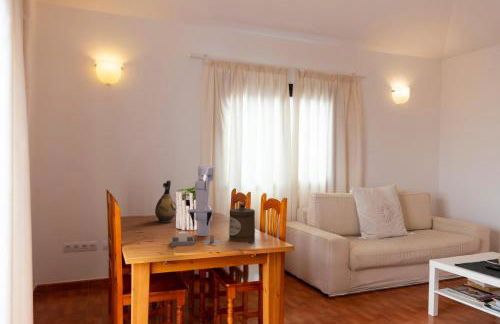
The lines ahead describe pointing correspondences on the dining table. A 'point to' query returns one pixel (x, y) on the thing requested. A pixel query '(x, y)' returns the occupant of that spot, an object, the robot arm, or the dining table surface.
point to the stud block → (211, 241)
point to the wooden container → (242, 224)
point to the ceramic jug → (166, 205)
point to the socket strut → (182, 236)
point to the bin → (181, 242)
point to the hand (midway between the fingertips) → (200, 225)
